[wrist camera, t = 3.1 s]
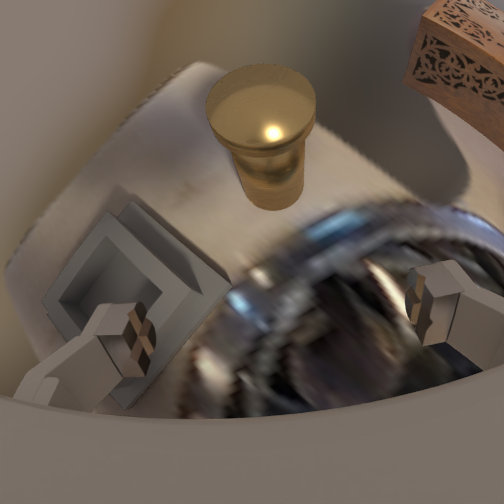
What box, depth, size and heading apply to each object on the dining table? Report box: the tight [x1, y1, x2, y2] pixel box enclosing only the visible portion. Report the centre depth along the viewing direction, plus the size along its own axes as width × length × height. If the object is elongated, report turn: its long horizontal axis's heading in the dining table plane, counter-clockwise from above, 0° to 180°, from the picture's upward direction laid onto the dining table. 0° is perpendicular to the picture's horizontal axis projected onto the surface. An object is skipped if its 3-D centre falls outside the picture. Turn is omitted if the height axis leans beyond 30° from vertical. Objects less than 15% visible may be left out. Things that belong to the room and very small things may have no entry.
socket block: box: [42, 200, 232, 410], centre depth 24 cm, size 14×12×4 cm
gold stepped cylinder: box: [206, 64, 316, 211], centre depth 22 cm, size 6×6×11 cm
